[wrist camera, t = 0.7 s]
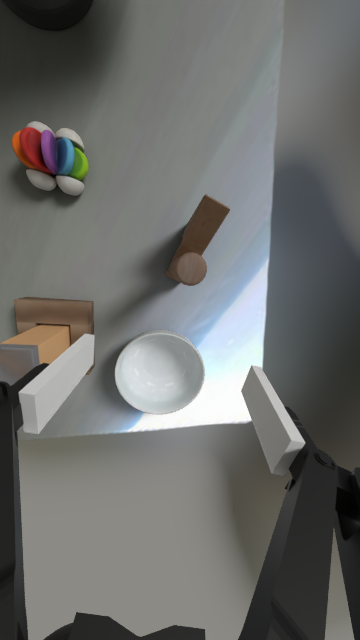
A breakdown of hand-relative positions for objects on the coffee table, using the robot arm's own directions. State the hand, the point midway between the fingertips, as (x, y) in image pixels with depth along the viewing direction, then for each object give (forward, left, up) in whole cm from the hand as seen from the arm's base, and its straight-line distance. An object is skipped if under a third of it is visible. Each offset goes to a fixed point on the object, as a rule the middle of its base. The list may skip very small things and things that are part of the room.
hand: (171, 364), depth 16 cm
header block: (+1, -21, -25) cm, 33 cm away
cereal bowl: (+11, -3, -25) cm, 28 cm away
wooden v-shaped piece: (-10, +6, -25) cm, 28 cm away
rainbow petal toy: (-27, -12, -25) cm, 39 cm away
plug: (+1, -21, -25) cm, 33 cm away
